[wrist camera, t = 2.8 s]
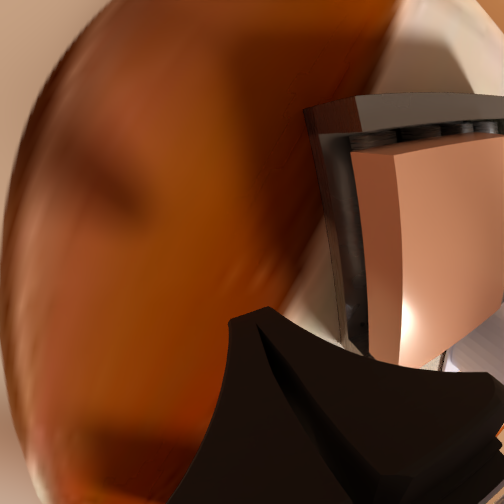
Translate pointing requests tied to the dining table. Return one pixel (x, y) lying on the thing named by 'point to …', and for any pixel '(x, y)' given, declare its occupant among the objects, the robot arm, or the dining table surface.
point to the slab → (431, 241)
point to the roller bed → (343, 181)
